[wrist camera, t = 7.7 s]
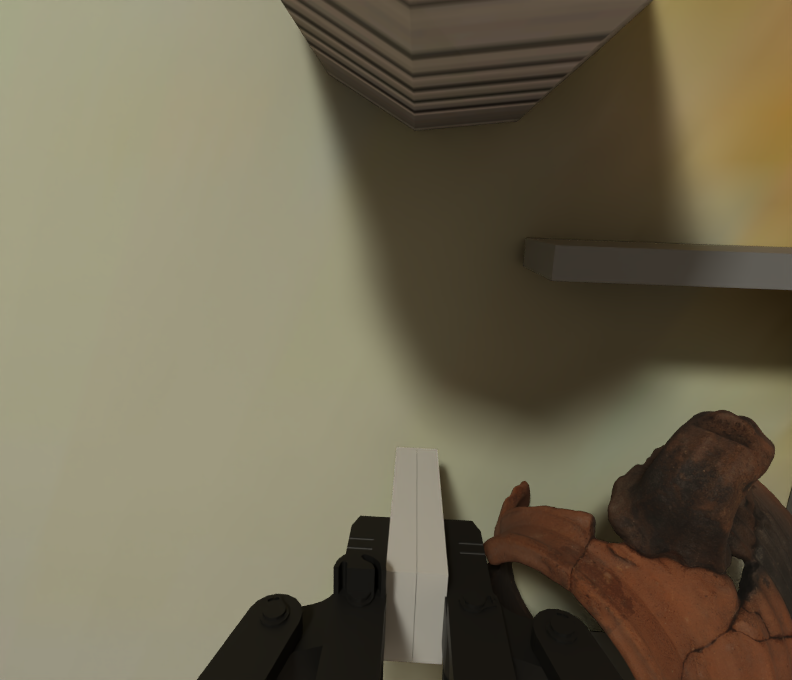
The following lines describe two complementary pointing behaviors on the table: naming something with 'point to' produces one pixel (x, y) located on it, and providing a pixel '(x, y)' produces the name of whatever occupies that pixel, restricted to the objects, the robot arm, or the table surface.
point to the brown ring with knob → (672, 557)
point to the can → (457, 52)
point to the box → (658, 268)
